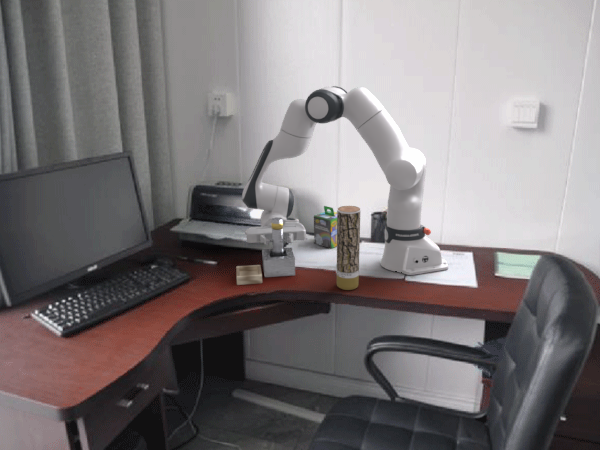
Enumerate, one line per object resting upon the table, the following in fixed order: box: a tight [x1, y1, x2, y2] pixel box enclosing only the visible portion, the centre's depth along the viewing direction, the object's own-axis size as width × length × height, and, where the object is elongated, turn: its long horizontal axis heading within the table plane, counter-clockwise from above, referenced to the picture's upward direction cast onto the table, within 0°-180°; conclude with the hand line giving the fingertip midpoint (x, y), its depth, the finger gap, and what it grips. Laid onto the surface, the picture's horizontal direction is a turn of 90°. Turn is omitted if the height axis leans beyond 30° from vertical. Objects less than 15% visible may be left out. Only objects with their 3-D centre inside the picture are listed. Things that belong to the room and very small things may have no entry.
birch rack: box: [235, 264, 263, 286], centre depth 162 cm, size 8×9×3 cm
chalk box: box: [313, 205, 337, 249], centre depth 190 cm, size 9×9×15 cm
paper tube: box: [336, 205, 361, 291], centre depth 152 cm, size 7×7×25 cm
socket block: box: [261, 247, 296, 278], centre depth 167 cm, size 10×10×6 cm
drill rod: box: [271, 218, 284, 257], centre depth 165 cm, size 4×4×18 cm
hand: (278, 241), depth 164 cm, fingers open, 6 cm apart
